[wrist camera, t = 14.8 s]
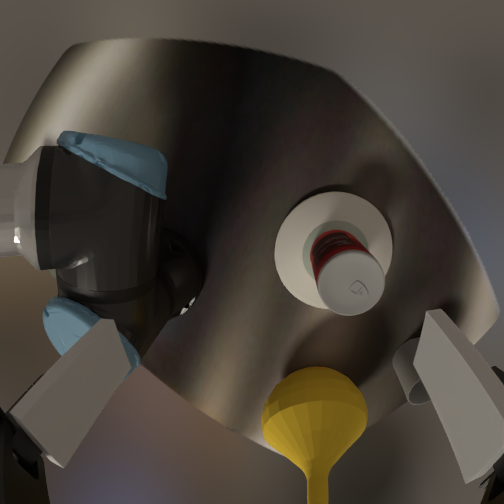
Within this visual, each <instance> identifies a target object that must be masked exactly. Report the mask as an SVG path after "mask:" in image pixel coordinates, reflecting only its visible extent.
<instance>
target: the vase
mask: <svg viewBox="0 0 504 504" xmlns="http://www.w3.org/2000/svg"><path fill="white" fill-rule="evenodd" d="M366 423H367V407H366V403H365V400H364V396H363V394H362V393H361V391H360V390H359V389H358V388H357V387H356V386H355V385H354V383H353V382H352V381H351V380H350V379H349V378H348V377H347V376H345V375H343V374H342V373H340V372H338V371H336V370H334V369H331V368H327V367H317V366H315V367H307V368H303V369H300V370H297V371H295V372H293V373H291V374H289V375H288V376H287V377H286V378H284V379H283V380H282V381H281V382H280V383H279V384H277V385H276V387H275V388H274V390H273V391H272V393H271V395H270V396H269V398H268V400H267V401H266V403H265V405H264V408H263V413H262V419H261V425H262V430H263V434H264V438H265V440H266V441H267V442H268V444H269V445H270V446H272V447H273V448H275V449H276V450H277V451H279V452H280V453H282V454H283V455H284V456H286V457H287V458H288V459H290V460H291V461H292V462H293V463H294V464H296V465H297V466H298V467H299V468H301V469H302V470H303V472H304V473H305V475H306V478H307V500H308V504H328V475H329V472H330V470H331V468H332V466H333V465H334V464H335V463H336V461H337V460H338V459H339V458H340V457H341V456H342V455H343V454H344V452H345V451H346V450H347V449H348V448H349V447H350V446H351V445H352V444H353V443H354V442H355V441H356V440H357V439H358V438H359V437H360V436H361V434H362V433H363V431H364V430H365V428H366Z"/></svg>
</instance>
